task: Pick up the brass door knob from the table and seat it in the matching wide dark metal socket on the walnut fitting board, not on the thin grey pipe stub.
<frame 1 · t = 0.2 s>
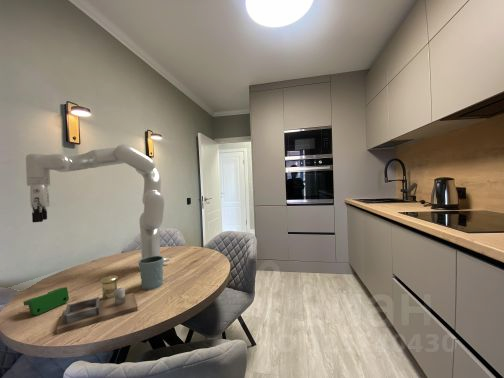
hand: (40, 220, 100), 31 cm above the table, tool pointing down, fingers open, 9 cm apart
grey-green cup: (152, 286, 101), on the table
fitting board: (100, 312, 80), on the table
clamp: (47, 308, 85), on the table
brass door knob: (110, 298, 91), on the table
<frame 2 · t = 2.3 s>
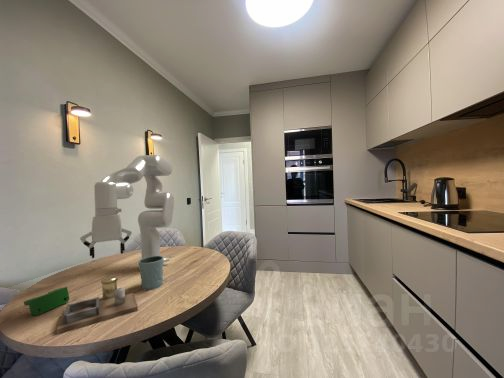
hand: (107, 255, 90), 17 cm above the table, tool pointing down, fingers open, 9 cm apart
nothing on the table moved.
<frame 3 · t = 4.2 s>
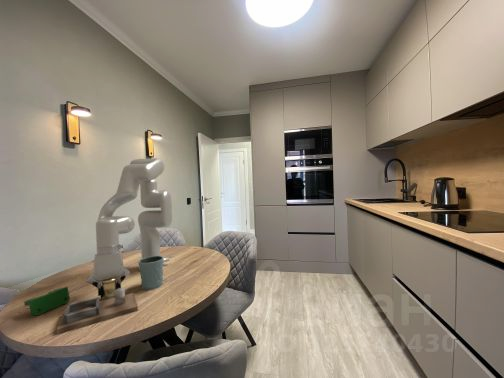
hand: (109, 294, 91), 1 cm above the table, tool pointing down, fingers closed on brass door knob, 5 cm apart
brass door knob: (110, 298, 91), on the table, touching gripper
everything else where it was.
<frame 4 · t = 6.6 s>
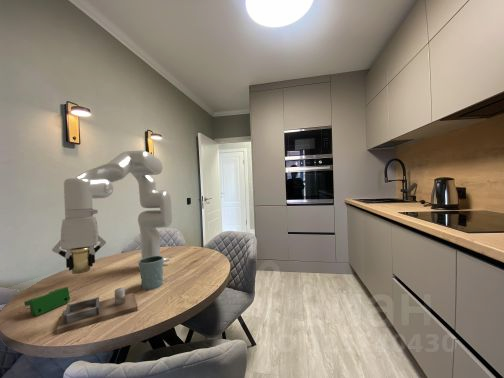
hand: (81, 266, 77), 17 cm above the table, tool pointing down, fingers closed on brass door knob, 5 cm apart
brass door knob: (81, 271, 77), point 16 cm above the table, touching gripper
everything else where it was.
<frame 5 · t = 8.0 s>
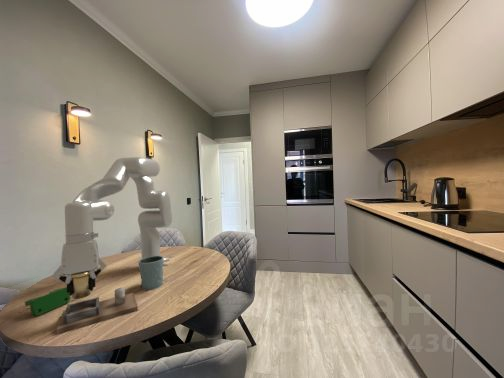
hand: (81, 291, 77), 9 cm above the table, tool pointing down, fingers closed on brass door knob, 5 cm apart
brass door knob: (81, 295, 77), point 8 cm above the table, touching gripper
everything else where it was.
when the fingers open (5 cm above the table, at t = 9.1 s): brass door knob drops 2 cm, resting on fitting board.
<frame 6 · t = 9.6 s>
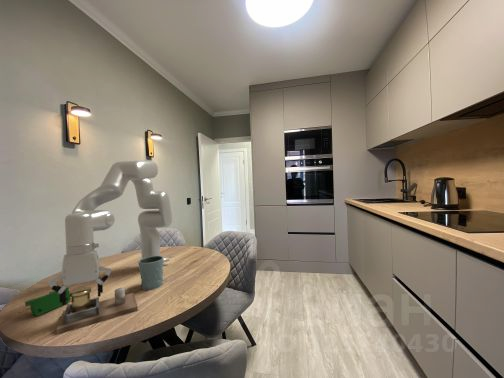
hand: (82, 299, 77), 6 cm above the table, tool pointing down, fingers open, 9 cm apart
brass door knob: (81, 313, 77), point 2 cm above the table, touching fitting board
everything else where it was.
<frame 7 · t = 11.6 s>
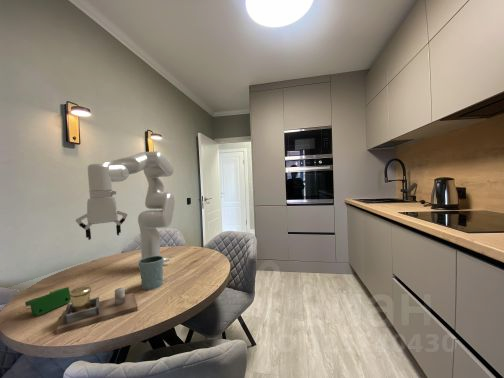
hand: (104, 236, 91), 25 cm above the table, tool pointing down, fingers open, 9 cm apart
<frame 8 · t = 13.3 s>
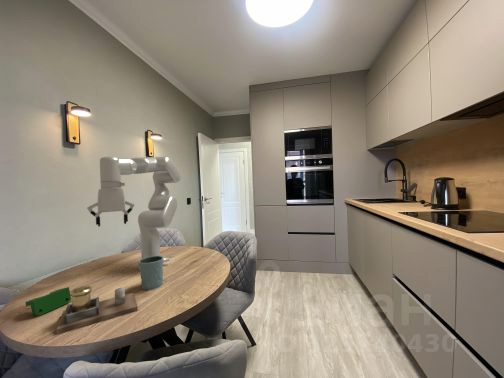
hand: (112, 224, 98), 28 cm above the table, tool pointing down, fingers open, 9 cm apart
at the end: brass door knob 0.4 cm from the target spot on the fitting board, point 1.6 cm above the fitting board's base; brass door knob tilted 1°; the gripper is holding nothing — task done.
